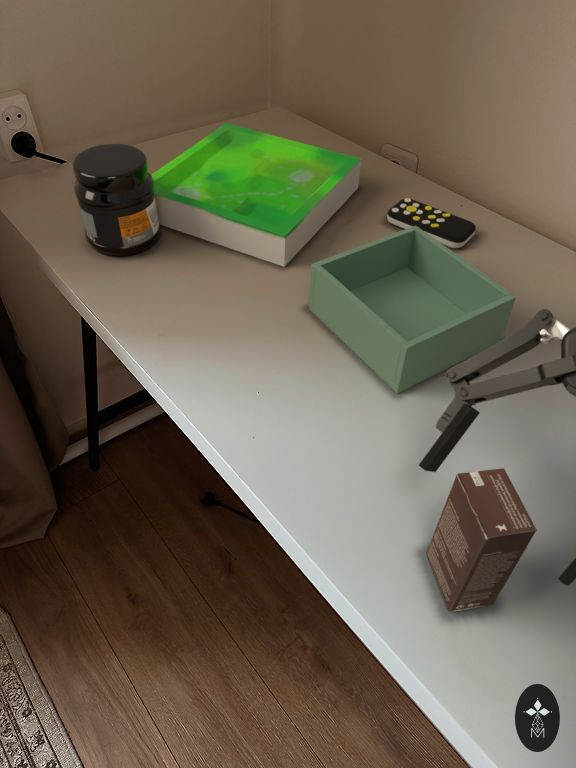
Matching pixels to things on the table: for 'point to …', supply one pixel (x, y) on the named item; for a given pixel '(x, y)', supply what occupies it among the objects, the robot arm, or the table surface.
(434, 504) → the table surface
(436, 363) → the bin
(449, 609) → the box
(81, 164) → the supplement container
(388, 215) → the remote control
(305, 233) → the green flat square slab
